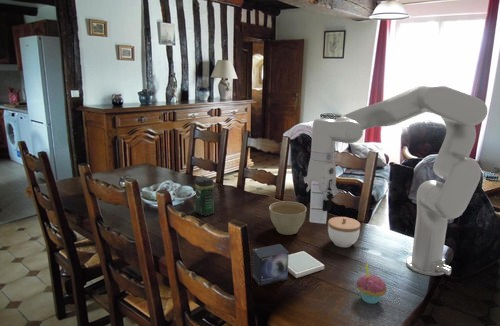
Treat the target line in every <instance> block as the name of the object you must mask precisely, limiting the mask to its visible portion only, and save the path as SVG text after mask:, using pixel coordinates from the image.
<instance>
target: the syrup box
mask: <svg viewBox="0 0 500 326" xmlns="http://www.w3.org/2000/svg"><path fill="white" fill-rule="evenodd" d="M327 190H328V188H327ZM328 195H329V193H328V192H327V196H328ZM324 199H325V198H324V195H323V192H321V191H320V190H319V184H318V182H317V181H314V180H312V182H311V200H310V203H309V205H310V206H309V222H310V223H314V224H315V223H316V224H323V225H324V224H325V225H326V224H327V217H328V214H327V213H328V211H323V210H322V209H323V200H324Z"/></svg>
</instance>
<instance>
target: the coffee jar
mask: <svg viewBox="0 0 500 326" xmlns="http://www.w3.org/2000/svg"><path fill="white" fill-rule="evenodd" d="M194 186H195V187H194V189H195V213H197V214H198V213H199V214H198V215H200V214H201V215H200V216H202V215H204V216H207V215H208V214H211V215H212V213H213V214H214V213H215V206H214V205H215V202H214V186H215V184H214V180H213V178H210V177H207V176H206V175H200V176H196V178H195V179H194ZM208 216H209V215H208Z"/></svg>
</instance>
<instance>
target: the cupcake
mask: <svg viewBox="0 0 500 326" xmlns="http://www.w3.org/2000/svg"><path fill="white" fill-rule="evenodd" d="M365 267H366V268H365V270H366V271H365V272H366V274H365V275H362V276H360V277H359V278H358V279H357V280H356V287H357V289H358V291H359V292H360V296H361V300H363V301H364V302H365V303H368V304H373V305H374V304H377V303H378V302H379V300H380V298H381V297H383V296H384V295H386V293H387V284H386V283H385V281H384V280H383V279H381V278H380V277H378V276H376V275H372V274H370V271H369V263H368V262H367V261H365Z"/></svg>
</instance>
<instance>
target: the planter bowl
mask: <svg viewBox="0 0 500 326" xmlns="http://www.w3.org/2000/svg"><path fill="white" fill-rule="evenodd" d="M268 209H269V210H268V211H269V216H270V217H269V218H270V220H271V222H272V225H273V226H274V227H275V229H276V231H277V233H279V234H281V235H287V236H288V235H290V236H292V235H295V234H297V233H298V232H299V229H300V228H301V227H302V226H303V224H304V222H305V219H306V214H307V206H305V205H304V204H303V203H300V202H297V201H277V202H273V203H271V204H270V205H269V207H268Z"/></svg>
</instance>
